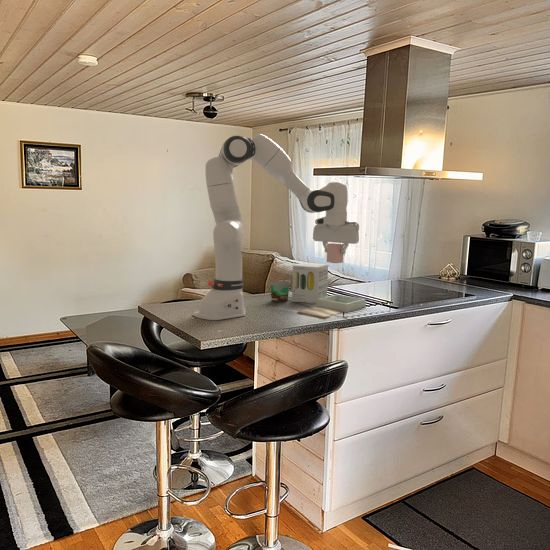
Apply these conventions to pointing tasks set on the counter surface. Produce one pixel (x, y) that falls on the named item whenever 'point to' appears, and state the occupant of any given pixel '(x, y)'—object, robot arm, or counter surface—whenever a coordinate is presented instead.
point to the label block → (334, 253)
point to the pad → (319, 312)
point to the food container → (280, 290)
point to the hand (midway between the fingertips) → (335, 253)
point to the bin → (341, 303)
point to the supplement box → (309, 282)
